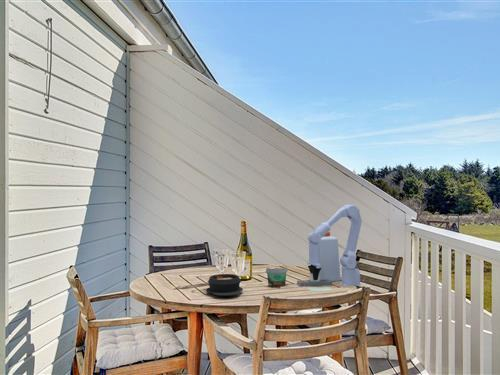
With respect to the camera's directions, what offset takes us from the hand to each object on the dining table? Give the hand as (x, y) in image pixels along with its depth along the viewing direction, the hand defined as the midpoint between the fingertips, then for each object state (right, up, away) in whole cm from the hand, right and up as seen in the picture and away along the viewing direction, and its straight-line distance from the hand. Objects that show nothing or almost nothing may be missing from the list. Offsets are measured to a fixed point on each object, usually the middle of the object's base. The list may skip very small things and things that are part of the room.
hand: (314, 279), depth 213 cm
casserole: (-48, -3, -16) cm, 51 cm away
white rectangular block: (0, -3, 0) cm, 3 cm away
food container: (-20, -4, -2) cm, 20 cm away
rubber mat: (+1, -3, -10) cm, 11 cm away
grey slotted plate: (0, -3, 0) cm, 3 cm away
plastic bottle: (+9, -4, +15) cm, 18 cm away
